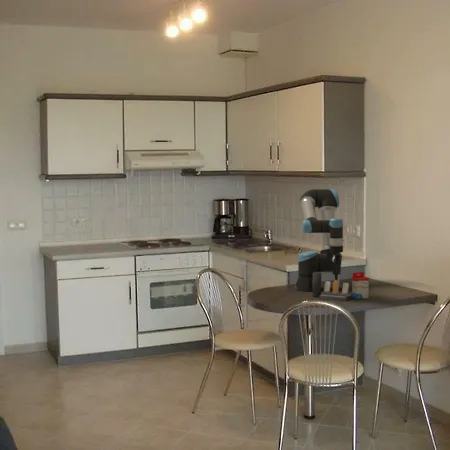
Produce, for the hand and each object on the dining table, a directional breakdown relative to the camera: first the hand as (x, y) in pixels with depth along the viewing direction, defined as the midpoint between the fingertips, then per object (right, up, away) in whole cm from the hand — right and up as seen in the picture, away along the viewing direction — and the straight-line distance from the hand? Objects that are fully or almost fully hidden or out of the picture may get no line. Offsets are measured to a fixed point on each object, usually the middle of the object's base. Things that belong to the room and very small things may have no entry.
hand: (336, 285), depth 412 cm
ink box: (+14, -8, +2) cm, 16 cm away
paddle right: (+4, -4, -3) cm, 7 cm away
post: (-11, -7, +6) cm, 14 cm away
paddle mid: (-1, -4, 0) cm, 4 cm away
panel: (-1, -7, 0) cm, 7 cm away
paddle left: (-6, -4, +2) cm, 7 cm away
